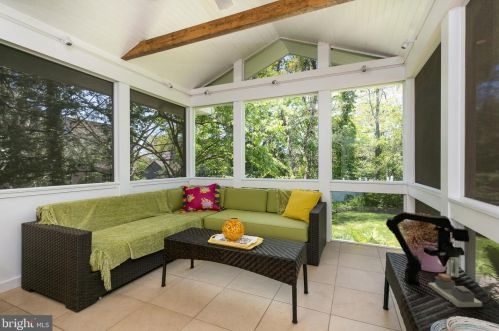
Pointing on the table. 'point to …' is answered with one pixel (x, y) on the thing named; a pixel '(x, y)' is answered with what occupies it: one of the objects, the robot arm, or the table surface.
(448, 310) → the table surface
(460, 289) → the plunger
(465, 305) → the console
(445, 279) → the terracotta plunger
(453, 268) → the beer glass
